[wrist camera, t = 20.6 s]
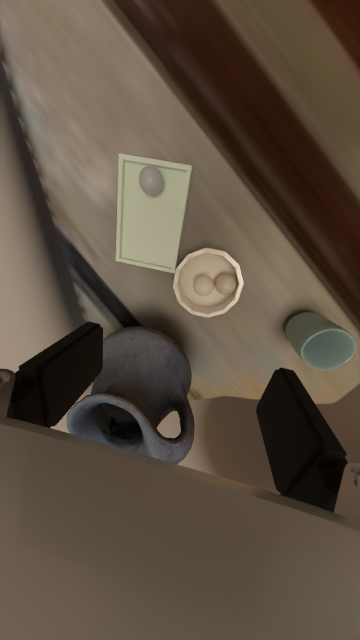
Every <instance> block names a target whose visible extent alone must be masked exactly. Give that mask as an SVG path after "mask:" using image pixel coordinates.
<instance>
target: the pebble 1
mask: <svg viewBox="0 0 360 640" xmlns="http://www.w3.org/2000/svg"><path fill="white" fill-rule="evenodd" d="M139 184H140V187H141V189H142V191H143V192H144V193H145V194H147V195H150V196H155V195H157V194H158V193H159V192H160V191H161V189H162V187H163V177H162V174H161V172H160V171H159V170H158V169H157V168H156V167H154V166H146V167H144V168H143V169H142V170H141V172H140V174H139Z"/></svg>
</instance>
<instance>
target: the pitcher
mask: <svg viewBox="0 0 360 640" xmlns="http://www.w3.org/2000/svg"><path fill="white" fill-rule="evenodd" d="M191 379H192V377H191V368H190V365H189V362H188V359H187V357H186V355H185V353H184V352H183V350H182V349H181V348H180V346H179V345H178V344H177V343H176V342H175V341H174V340H173V339H172V338H170V337H169V336H168V335H166V334H164V333H163V332H161V331H158V330H155V329H152V328H149V327H142V326H131V327H127V328H123V329H120V330H118V331H115V332H113V333H111V334H110V335H108V336H107V337H106V338H105V339H104V340H103V368H102V371H101V373H100V374H99V375H98V376H97V377H96V379H95V380H94V383H93V387H92V392H91V394H90V395H87V396H85V397H84V398H83V399H82V400H81V401H79V402H77V403H76V404H75V405H74V406H73V407H72V408H71V410H70V411H69V412H68V414H67V427H68V430H69V432H70V434H73V435H76V436H80V437H83V438H87V439H90V440H94V441H97V442H101V443H104V444H108V445H111V446H115V447H119V448H122V449H125V450H129V451H132V452H136V453H139V454H143V455H146V456H150V457H153V458H157V459H160V460H164V461H167V462H170V463H174V464H178V463H179V462H180V461H182V460H183V459H184V458H185V456H186V455H187V454H188V452H189V450H190V449H191V446H192V443H193V440H194V427H195V426H194V417H193V414H192V410H191V407H190V404H189V401H188V399H187V394H188V391H189V389H190V385H191ZM172 411H177V412H178V414H179V417H180V426H181V433H180V435H179V436H177V437H176V438H166V437H164V436H162V435H161V434H160V433H159V432H158V430H157V429H156V428H157V426H158V425H159V423H160V422H161V421H162V420H163V419H164V418H165V417H166V416H167V415H168V414H169V413H170V412H172Z"/></svg>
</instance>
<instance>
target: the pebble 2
mask: <svg viewBox="0 0 360 640" xmlns="http://www.w3.org/2000/svg"><path fill="white" fill-rule="evenodd" d="M193 288H194V291H195V292H196V293H197V294H198V295H200V296H207V295H209V294H210V293H211V292H212V291H213V289H214V282H213V280H212V279H211V278H210V277H209V276H206V275H202V276H199V277H198V278H197V279H196V280H195V281H194V284H193Z"/></svg>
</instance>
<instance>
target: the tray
mask: <svg viewBox="0 0 360 640" xmlns="http://www.w3.org/2000/svg"><path fill="white" fill-rule="evenodd" d="M146 166H154V167H156V168H157V169H158V170H159V171H160V172H161V174H162V177H163V187H162V189H161V191H160V192H159V193H158V194H157V195H155V196H150V195H147V194H145V193H144V192H143V191H142V189H141V187H140V184H139V174H140V172H141V170H142V169H143V168H144V167H146ZM192 171H193V168H192V165H186V164H180V163H174V162H168V161H162V160H156V159H150V158H144V157H138V156H132V155H126V154H120V153H119V170H118V203H117V237H116V261H118V262H123V263H128V264H133V265H137V266H142V267H147V268H151V269H156V270H161V271H165V272H170V273H175V271H176V267H177V261H178V255H179V249H180V243H181V237H182V231H183V225H184V219H185V213H186V207H187V201H188V195H189V189H190V183H191V177H192Z"/></svg>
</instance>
